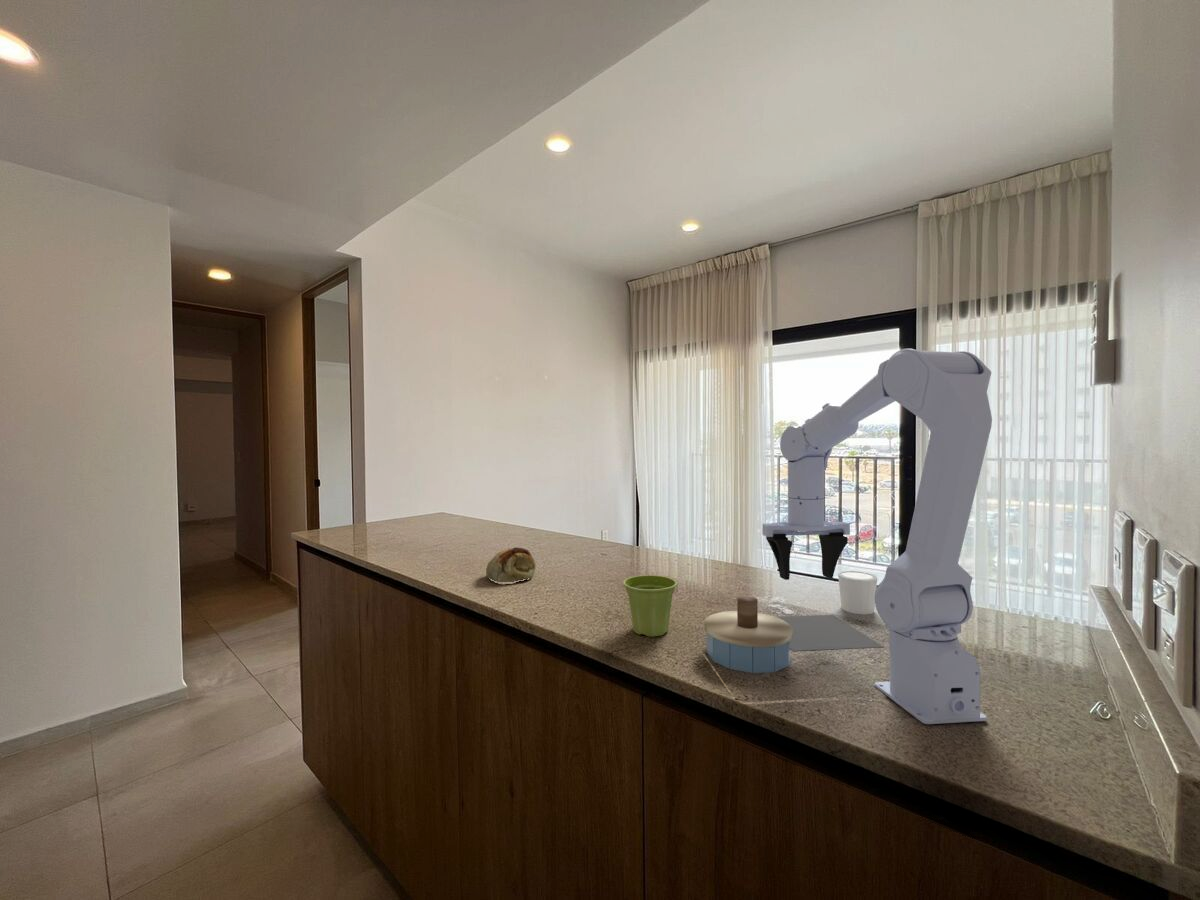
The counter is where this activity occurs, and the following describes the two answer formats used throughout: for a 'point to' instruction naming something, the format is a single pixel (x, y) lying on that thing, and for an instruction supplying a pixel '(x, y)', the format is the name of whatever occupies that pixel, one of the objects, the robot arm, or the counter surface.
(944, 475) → the robot arm
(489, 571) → the pastry
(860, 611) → the white cup
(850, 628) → the mat
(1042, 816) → the counter surface
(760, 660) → the bowl
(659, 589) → the plant pot
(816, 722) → the counter surface
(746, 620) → the lid
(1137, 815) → the counter surface
